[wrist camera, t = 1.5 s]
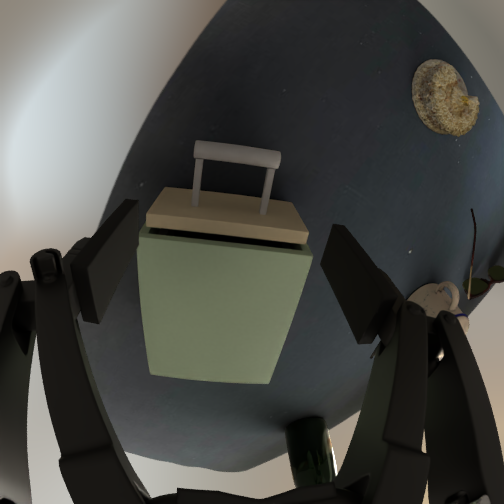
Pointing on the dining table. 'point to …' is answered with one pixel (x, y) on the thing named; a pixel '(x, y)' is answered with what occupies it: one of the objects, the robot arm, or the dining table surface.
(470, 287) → the sunglasses
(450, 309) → the teacup with lid
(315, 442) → the green wine bottle
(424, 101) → the cake
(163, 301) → the green drawer box
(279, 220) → the pull-out drawer
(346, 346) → the dining table surface
